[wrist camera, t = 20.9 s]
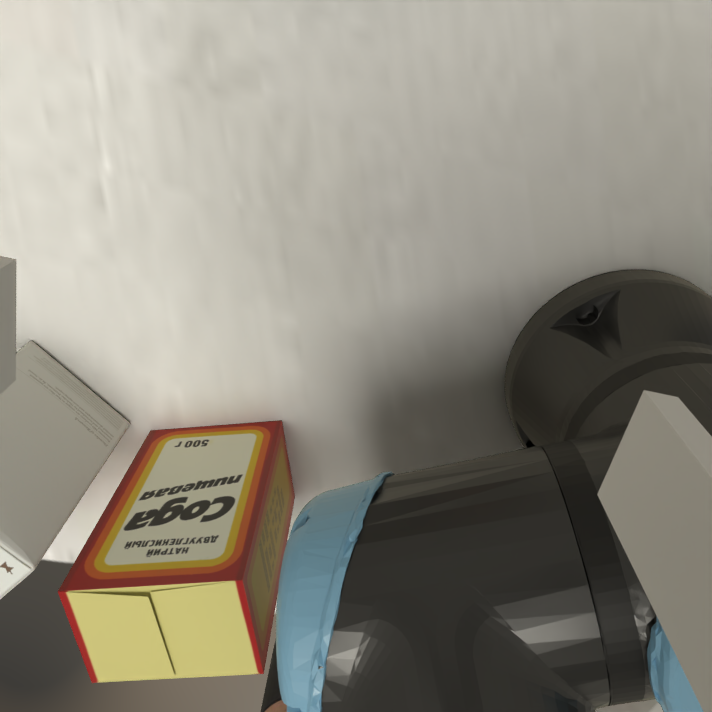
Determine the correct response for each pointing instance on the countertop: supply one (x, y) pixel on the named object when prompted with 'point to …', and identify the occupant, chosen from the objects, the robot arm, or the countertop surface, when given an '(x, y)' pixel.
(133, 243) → the countertop surface
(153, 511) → the baking soda box
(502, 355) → the countertop surface
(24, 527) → the supplement box
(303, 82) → the countertop surface
